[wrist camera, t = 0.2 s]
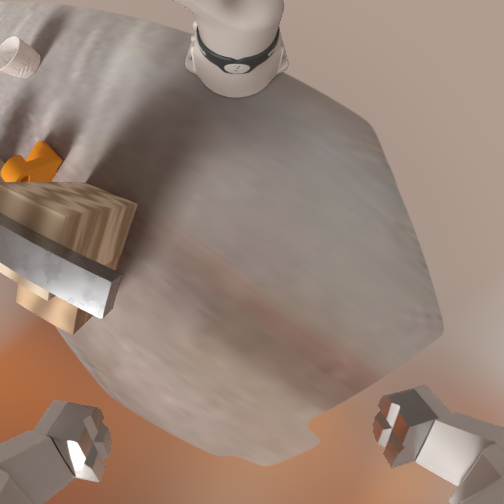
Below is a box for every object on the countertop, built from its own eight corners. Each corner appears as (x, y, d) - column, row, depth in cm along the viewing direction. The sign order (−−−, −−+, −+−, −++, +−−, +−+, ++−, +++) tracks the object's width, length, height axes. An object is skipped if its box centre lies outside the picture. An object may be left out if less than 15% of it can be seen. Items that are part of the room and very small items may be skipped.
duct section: (122, 273, 28) (111, 282, 25) (112, 308, 29) (102, 319, 26) (-10, 206, 26) (-26, 208, 23) (-16, 237, 26) (-31, 241, 23)
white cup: (36, 80, 45) (11, 67, 35) (13, 82, 44) (-12, 72, 35) (47, 48, 44) (24, 33, 34) (24, 52, 43) (1, 39, 33)
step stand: (138, 204, 52) (65, 216, 27) (108, 300, 55) (41, 366, 30) (85, 182, 51) (-5, 182, 25) (60, 276, 54) (-21, 324, 28)
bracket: (46, 140, 48) (11, 133, 37) (64, 161, 50) (30, 156, 38) (19, 181, 49) (-16, 182, 38) (37, 203, 51) (1, 207, 39)
